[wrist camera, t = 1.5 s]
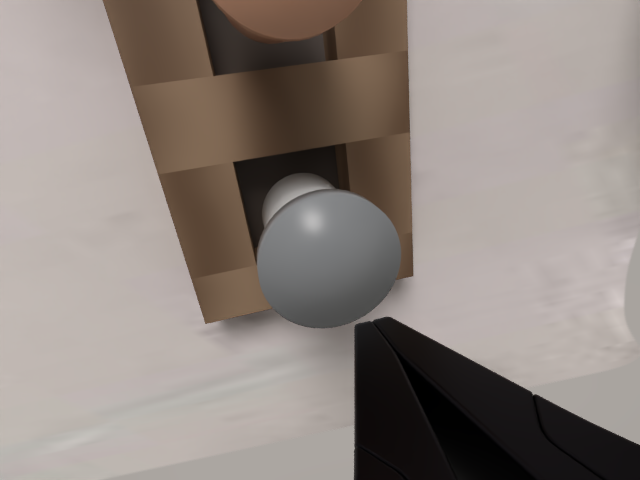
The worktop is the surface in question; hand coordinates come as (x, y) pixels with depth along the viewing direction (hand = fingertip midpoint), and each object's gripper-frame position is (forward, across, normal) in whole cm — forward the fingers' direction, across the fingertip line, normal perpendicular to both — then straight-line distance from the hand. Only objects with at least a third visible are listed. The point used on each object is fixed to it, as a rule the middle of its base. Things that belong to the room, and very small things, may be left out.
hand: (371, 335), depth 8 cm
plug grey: (+9, 0, 0) cm, 9 cm away
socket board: (+13, 0, -4) cm, 14 cm away
